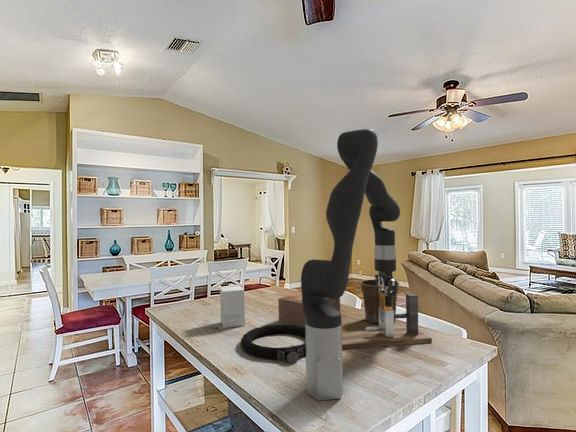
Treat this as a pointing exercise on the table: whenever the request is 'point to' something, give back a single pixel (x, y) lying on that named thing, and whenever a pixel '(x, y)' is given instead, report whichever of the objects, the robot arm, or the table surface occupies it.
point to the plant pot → (374, 300)
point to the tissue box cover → (298, 309)
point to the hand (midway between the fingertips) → (385, 305)
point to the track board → (400, 335)
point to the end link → (384, 319)
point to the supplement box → (232, 306)
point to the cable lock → (274, 353)
